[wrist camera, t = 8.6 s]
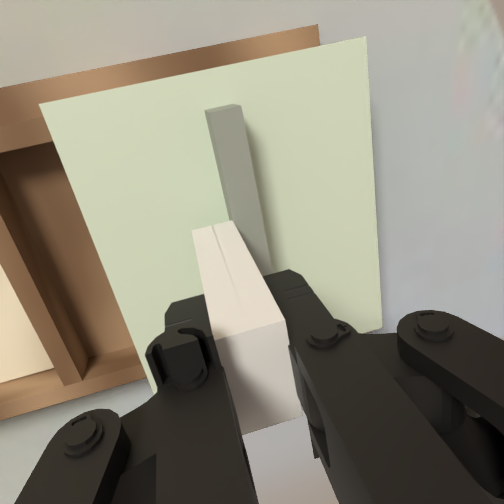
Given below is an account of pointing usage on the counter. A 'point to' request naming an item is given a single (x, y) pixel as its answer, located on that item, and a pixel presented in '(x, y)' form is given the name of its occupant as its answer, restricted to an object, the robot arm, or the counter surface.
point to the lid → (230, 179)
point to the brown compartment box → (73, 238)
